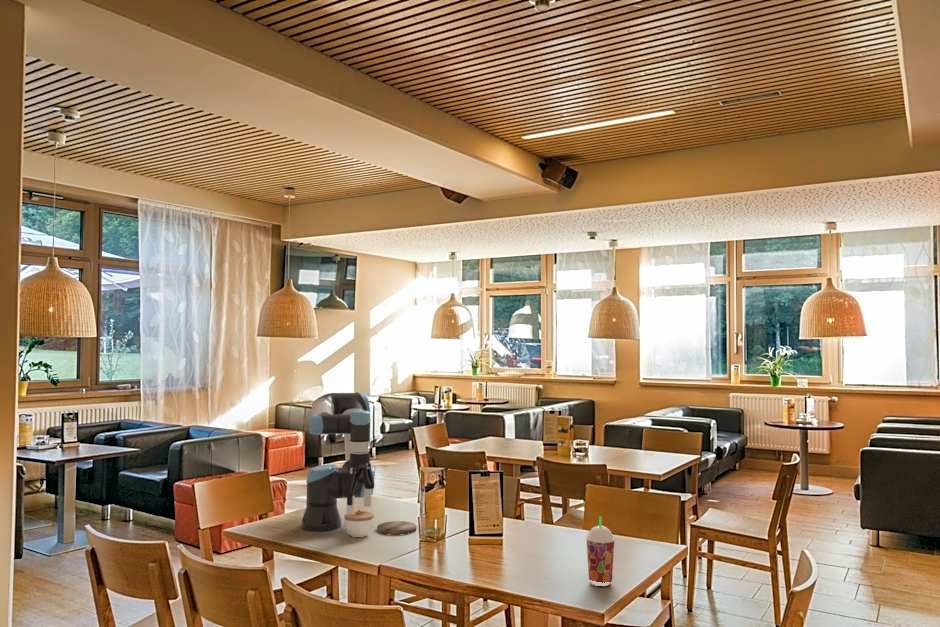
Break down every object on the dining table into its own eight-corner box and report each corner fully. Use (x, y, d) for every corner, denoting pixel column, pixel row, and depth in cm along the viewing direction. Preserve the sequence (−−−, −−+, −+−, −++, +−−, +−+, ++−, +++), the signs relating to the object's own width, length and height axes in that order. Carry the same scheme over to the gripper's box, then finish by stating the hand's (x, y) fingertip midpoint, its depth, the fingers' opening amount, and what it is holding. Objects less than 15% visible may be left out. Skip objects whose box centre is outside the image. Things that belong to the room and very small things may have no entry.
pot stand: (370, 533, 271) (370, 529, 271) (387, 523, 285) (387, 519, 285) (407, 536, 266) (407, 532, 266) (422, 526, 281) (422, 523, 281)
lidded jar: (339, 538, 264) (339, 512, 265) (352, 530, 274) (352, 506, 275) (365, 540, 261) (366, 514, 261) (378, 533, 271) (378, 508, 272)
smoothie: (611, 579, 220) (611, 513, 220) (617, 588, 211) (617, 520, 212) (583, 579, 219) (583, 513, 220) (589, 589, 211) (589, 520, 212)
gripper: (353, 457, 256) (352, 518, 255) (383, 448, 279) (383, 503, 278) (334, 456, 258) (333, 516, 257) (366, 447, 282) (365, 502, 281)
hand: (359, 510), depth 268 cm, fingers open, 13 cm apart
